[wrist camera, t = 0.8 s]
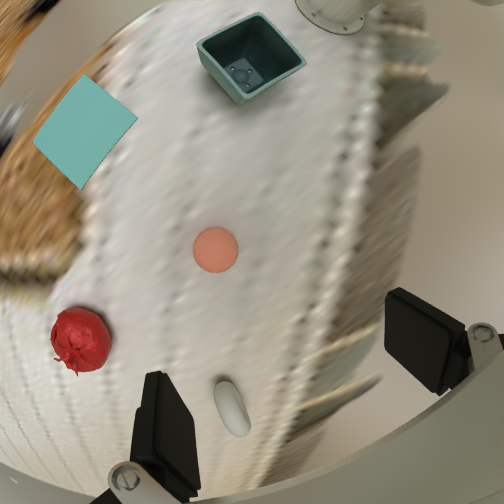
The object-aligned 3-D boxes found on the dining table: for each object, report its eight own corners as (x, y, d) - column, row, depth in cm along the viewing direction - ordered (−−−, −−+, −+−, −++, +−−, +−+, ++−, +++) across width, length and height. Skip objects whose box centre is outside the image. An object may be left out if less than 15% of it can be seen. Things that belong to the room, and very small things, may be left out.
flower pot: (233, 119, 32) (246, 100, 24) (193, 73, 29) (194, 42, 21) (283, 86, 32) (309, 63, 24) (245, 42, 29) (259, 10, 21)
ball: (212, 215, 35) (215, 221, 30) (243, 242, 37) (251, 253, 31) (184, 247, 35) (183, 259, 30) (216, 273, 37) (220, 288, 32)
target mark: (84, 74, 26) (84, 74, 26) (137, 118, 30) (137, 117, 29) (33, 142, 26) (32, 142, 26) (81, 190, 30) (80, 190, 30)
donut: (246, 402, 44) (258, 443, 35) (229, 408, 44) (238, 449, 34) (227, 366, 41) (237, 409, 32) (207, 373, 41) (213, 417, 31)
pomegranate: (112, 302, 35) (94, 334, 26) (119, 358, 37) (108, 396, 29) (55, 296, 33) (28, 324, 24) (66, 351, 35) (48, 385, 26)
